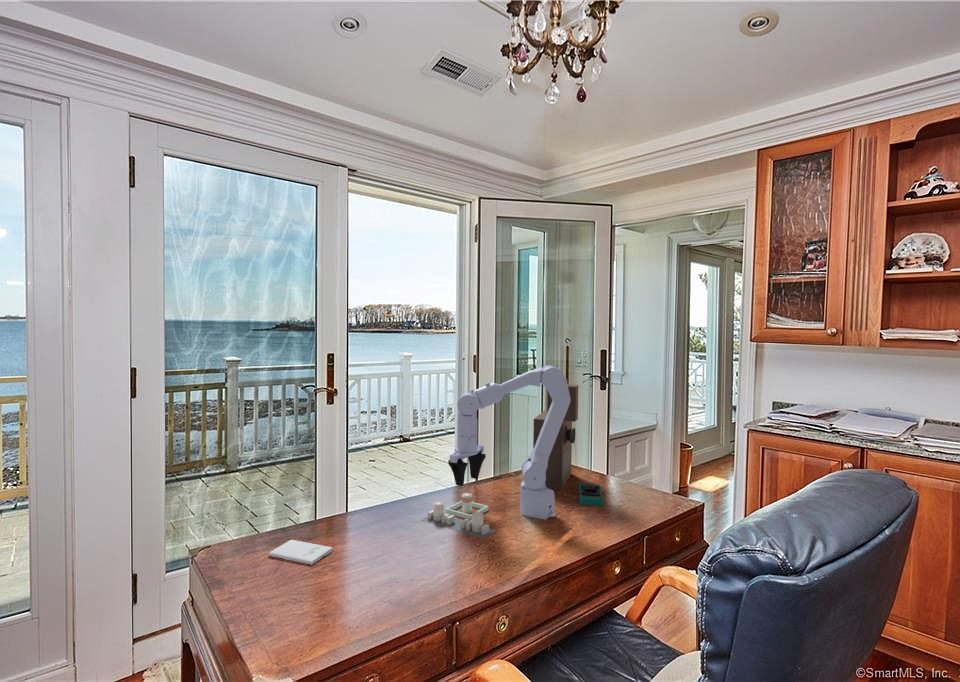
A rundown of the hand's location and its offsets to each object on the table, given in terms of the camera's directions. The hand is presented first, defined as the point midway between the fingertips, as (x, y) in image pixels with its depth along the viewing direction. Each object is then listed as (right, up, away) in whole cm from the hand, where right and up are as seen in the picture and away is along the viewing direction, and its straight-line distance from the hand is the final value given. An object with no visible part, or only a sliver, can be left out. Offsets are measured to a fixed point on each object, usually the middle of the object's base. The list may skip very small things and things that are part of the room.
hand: (467, 481), depth 148 cm
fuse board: (-2, -10, -10) cm, 14 cm away
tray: (0, -10, 0) cm, 10 cm away
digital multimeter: (+39, -10, +16) cm, 44 cm away
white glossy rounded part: (-8, -9, -6) cm, 13 cm away
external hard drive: (-39, -11, -25) cm, 48 cm away
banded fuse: (0, -9, 0) cm, 9 cm away
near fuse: (+3, -9, -13) cm, 16 cm away
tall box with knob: (+30, -9, +33) cm, 46 cm away
